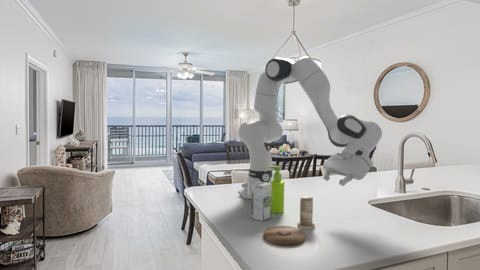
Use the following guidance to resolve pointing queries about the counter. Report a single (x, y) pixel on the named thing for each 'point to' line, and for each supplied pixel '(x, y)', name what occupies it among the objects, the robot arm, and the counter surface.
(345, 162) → the robot arm
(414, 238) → the counter surface
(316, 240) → the counter surface
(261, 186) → the syrup box
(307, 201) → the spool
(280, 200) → the soap dispenser
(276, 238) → the base
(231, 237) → the counter surface
